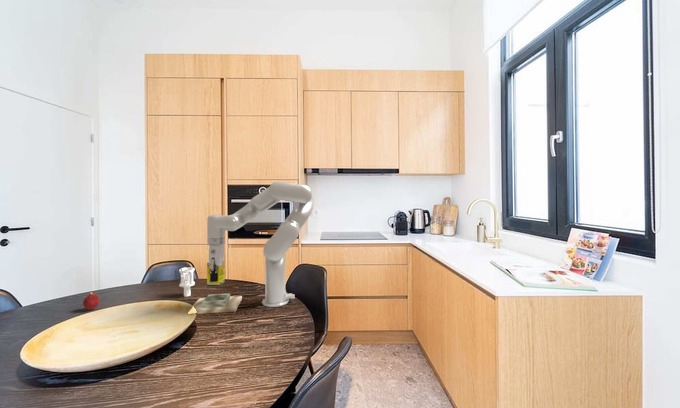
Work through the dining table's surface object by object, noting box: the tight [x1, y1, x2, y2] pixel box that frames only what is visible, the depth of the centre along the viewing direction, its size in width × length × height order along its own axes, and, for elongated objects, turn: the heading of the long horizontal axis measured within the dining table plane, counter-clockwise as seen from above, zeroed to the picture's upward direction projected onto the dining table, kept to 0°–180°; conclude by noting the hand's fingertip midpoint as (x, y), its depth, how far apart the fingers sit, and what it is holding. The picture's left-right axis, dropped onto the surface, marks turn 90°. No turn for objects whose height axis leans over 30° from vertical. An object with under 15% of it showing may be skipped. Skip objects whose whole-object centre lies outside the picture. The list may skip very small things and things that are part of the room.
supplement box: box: [206, 260, 226, 287], centre depth 133 cm, size 6×6×11 cm
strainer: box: [178, 267, 196, 298], centre depth 147 cm, size 7×7×15 cm
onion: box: [82, 291, 101, 311], centre depth 129 cm, size 6×6×8 cm
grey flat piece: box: [192, 293, 243, 315], centre depth 133 cm, size 20×16×4 cm
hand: (216, 278), depth 133 cm, fingers closed on supplement box, 6 cm apart
